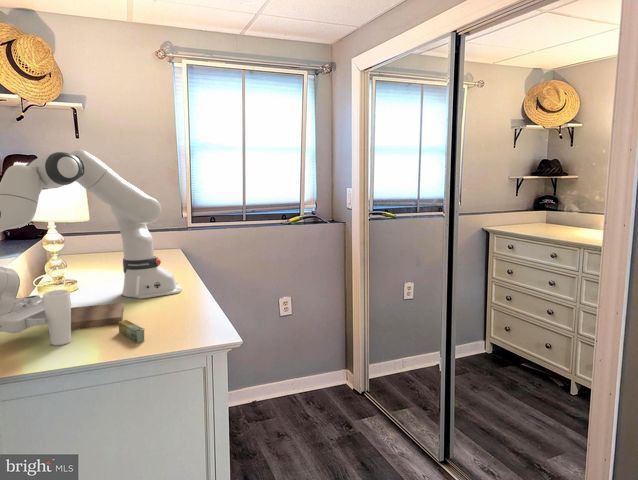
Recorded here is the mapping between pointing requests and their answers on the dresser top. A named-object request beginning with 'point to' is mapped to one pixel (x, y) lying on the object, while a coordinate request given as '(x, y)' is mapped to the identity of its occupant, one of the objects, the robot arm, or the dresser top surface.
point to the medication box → (131, 331)
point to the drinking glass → (58, 316)
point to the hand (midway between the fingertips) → (57, 316)
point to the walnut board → (96, 316)
